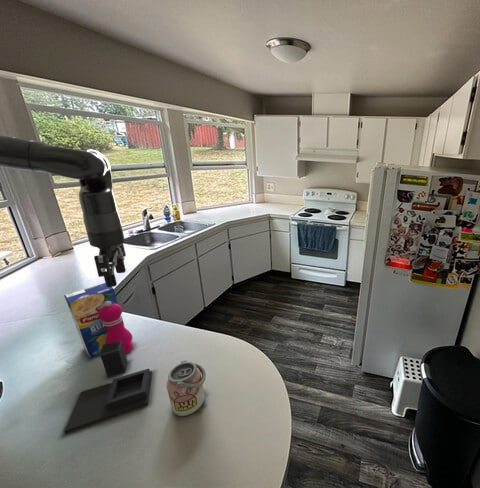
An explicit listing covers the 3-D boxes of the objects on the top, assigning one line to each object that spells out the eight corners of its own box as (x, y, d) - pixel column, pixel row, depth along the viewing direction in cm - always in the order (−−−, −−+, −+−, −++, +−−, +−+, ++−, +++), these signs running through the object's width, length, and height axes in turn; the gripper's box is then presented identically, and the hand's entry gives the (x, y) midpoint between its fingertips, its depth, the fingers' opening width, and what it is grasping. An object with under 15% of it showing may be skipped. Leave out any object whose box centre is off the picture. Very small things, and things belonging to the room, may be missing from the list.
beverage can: (210, 385, 75) (205, 354, 71) (208, 411, 68) (203, 378, 64) (175, 395, 72) (167, 363, 68) (169, 423, 65) (161, 389, 61)
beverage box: (84, 350, 87) (63, 295, 79) (122, 333, 95) (107, 282, 88) (90, 359, 83) (69, 302, 76) (129, 340, 92) (113, 288, 84)
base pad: (65, 433, 62) (60, 424, 60) (81, 394, 71) (78, 385, 70) (147, 404, 69) (145, 395, 68) (152, 372, 79) (150, 364, 78)
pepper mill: (140, 345, 90) (126, 297, 83) (119, 360, 83) (103, 309, 76) (124, 341, 91) (110, 293, 85) (103, 355, 85) (86, 305, 78)
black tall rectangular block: (107, 377, 77) (99, 354, 74) (110, 366, 81) (103, 344, 78) (125, 372, 79) (118, 349, 76) (128, 362, 83) (121, 340, 80)
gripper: (97, 220, 73) (109, 269, 79) (74, 236, 61) (90, 293, 67) (128, 219, 76) (138, 267, 82) (112, 234, 64) (125, 289, 70)
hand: (116, 279), depth 74 cm, fingers open, 8 cm apart
